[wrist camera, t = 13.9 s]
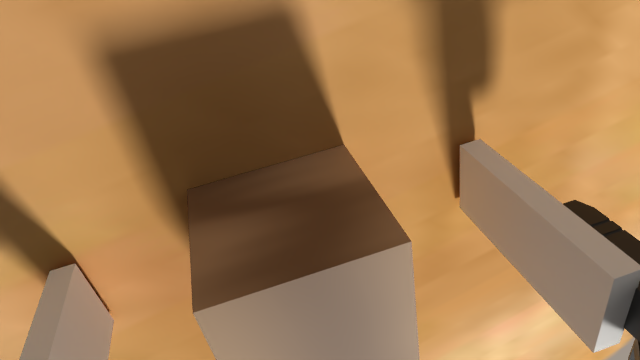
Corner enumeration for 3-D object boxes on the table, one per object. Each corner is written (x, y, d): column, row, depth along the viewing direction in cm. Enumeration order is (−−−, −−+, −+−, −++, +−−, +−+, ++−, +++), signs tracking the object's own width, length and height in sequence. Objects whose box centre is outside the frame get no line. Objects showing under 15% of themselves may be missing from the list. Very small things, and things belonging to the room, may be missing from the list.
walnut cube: (232, 298, 16) (251, 431, 12) (187, 188, 14) (193, 312, 9) (361, 256, 17) (419, 369, 13) (343, 143, 14) (411, 241, 10)
